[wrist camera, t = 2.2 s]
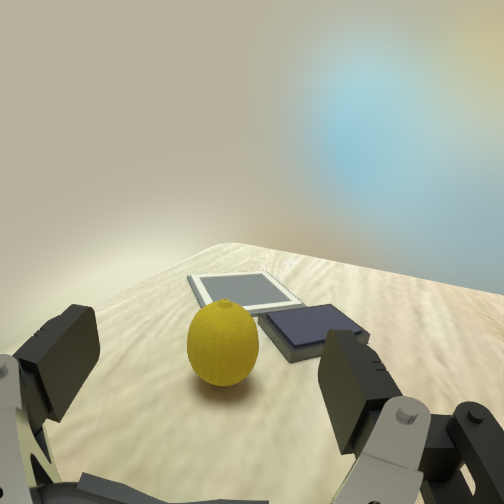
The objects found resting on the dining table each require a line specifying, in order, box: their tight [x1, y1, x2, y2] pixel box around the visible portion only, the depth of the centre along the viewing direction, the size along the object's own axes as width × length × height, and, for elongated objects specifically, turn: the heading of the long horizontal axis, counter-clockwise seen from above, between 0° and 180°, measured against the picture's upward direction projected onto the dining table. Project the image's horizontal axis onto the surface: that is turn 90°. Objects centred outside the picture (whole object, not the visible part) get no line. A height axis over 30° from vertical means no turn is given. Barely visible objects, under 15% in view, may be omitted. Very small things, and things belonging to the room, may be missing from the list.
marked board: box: [187, 271, 307, 317], centre depth 42 cm, size 13×13×1 cm
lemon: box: [187, 299, 259, 386], centre depth 23 cm, size 6×6×8 cm
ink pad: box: [258, 304, 370, 363], centre depth 33 cm, size 10×8×2 cm
